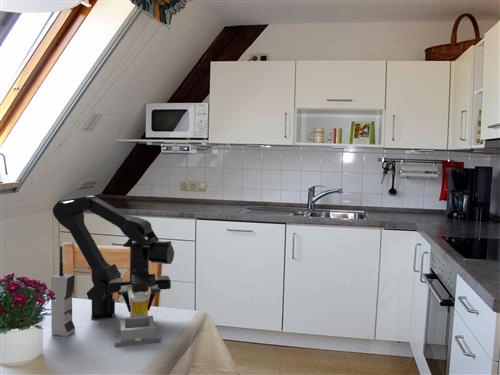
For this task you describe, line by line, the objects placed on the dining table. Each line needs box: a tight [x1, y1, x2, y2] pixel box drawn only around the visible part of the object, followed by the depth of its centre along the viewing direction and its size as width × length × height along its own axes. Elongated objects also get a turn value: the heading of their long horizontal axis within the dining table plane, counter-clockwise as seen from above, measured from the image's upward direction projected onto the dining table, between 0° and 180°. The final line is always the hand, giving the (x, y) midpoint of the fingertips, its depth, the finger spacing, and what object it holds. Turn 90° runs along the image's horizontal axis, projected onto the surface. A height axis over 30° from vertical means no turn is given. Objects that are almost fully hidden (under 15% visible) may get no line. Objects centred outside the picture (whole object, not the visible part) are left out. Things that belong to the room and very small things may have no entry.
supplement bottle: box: [129, 291, 149, 318], centre depth 134 cm, size 5×5×10 cm
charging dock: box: [114, 315, 162, 348], centre depth 121 cm, size 12×10×4 cm
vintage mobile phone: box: [50, 246, 76, 337], centre depth 121 cm, size 4×5×25 cm
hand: (139, 310), depth 134 cm, fingers closed on supplement bottle, 5 cm apart
